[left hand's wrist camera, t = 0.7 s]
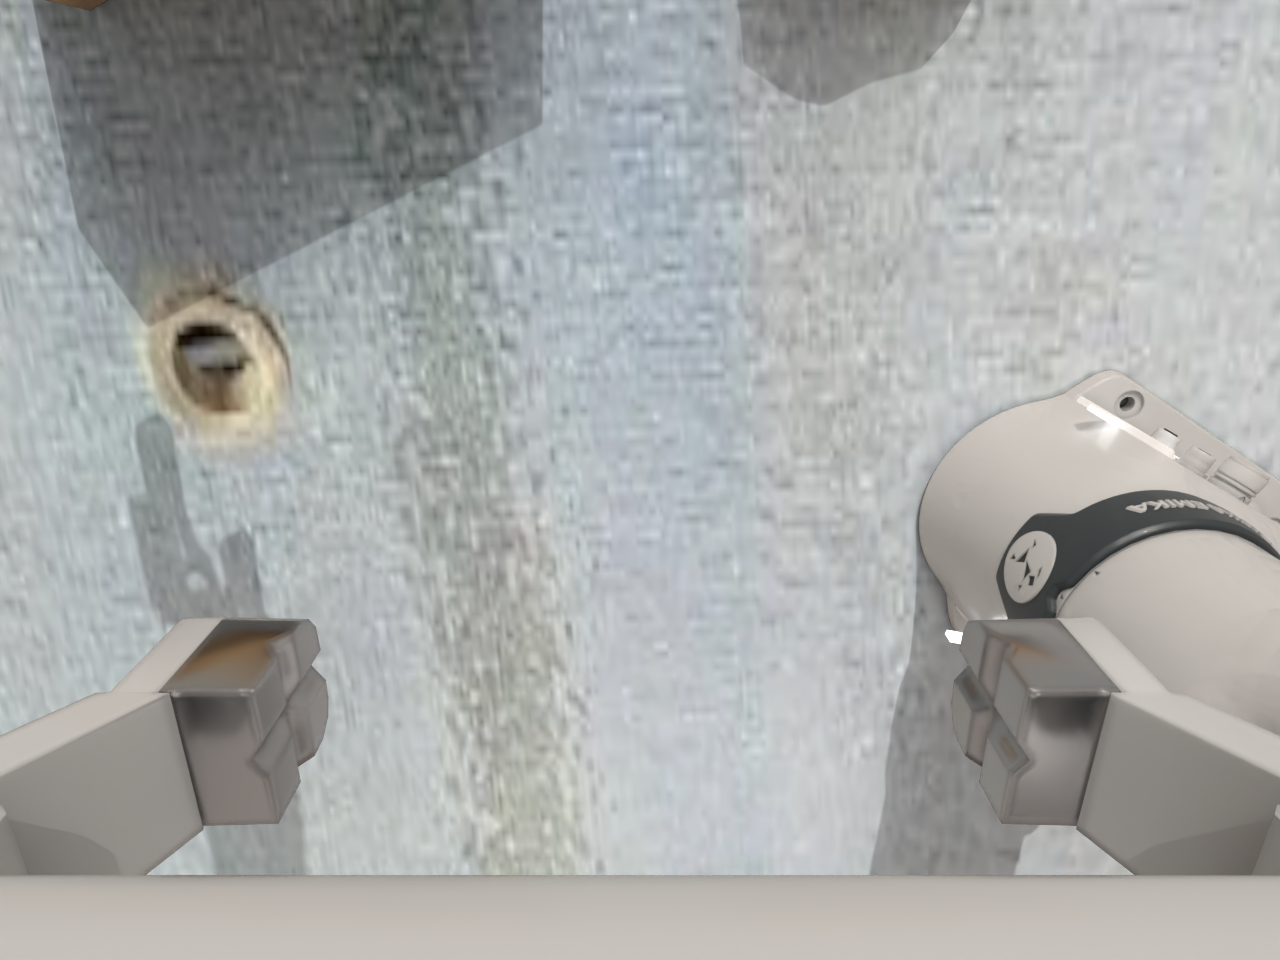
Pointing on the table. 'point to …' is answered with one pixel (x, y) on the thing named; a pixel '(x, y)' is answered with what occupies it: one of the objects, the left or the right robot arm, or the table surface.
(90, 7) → the box
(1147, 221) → the table surface
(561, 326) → the table surface
